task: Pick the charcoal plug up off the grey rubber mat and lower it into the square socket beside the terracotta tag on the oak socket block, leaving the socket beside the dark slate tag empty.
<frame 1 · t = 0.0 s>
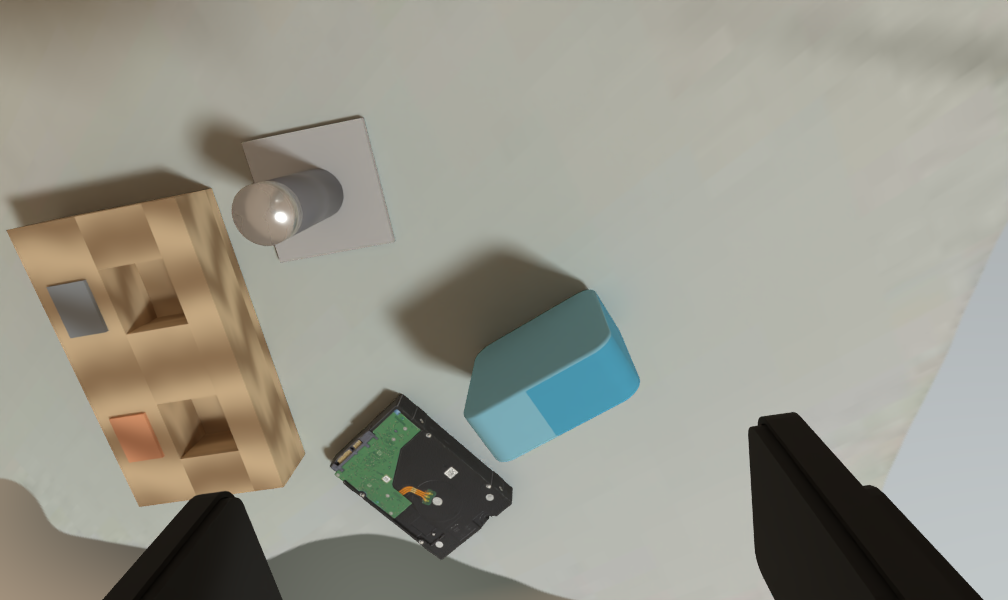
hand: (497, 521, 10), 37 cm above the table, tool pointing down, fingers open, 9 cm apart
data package: (545, 338, 49), on the table
socket block: (190, 344, 50), on the table
disk drive: (425, 468, 54), on the table
rubber mat: (321, 192, 45), on the table
plug: (319, 193, 44), point 1 cm above the table, touching rubber mat
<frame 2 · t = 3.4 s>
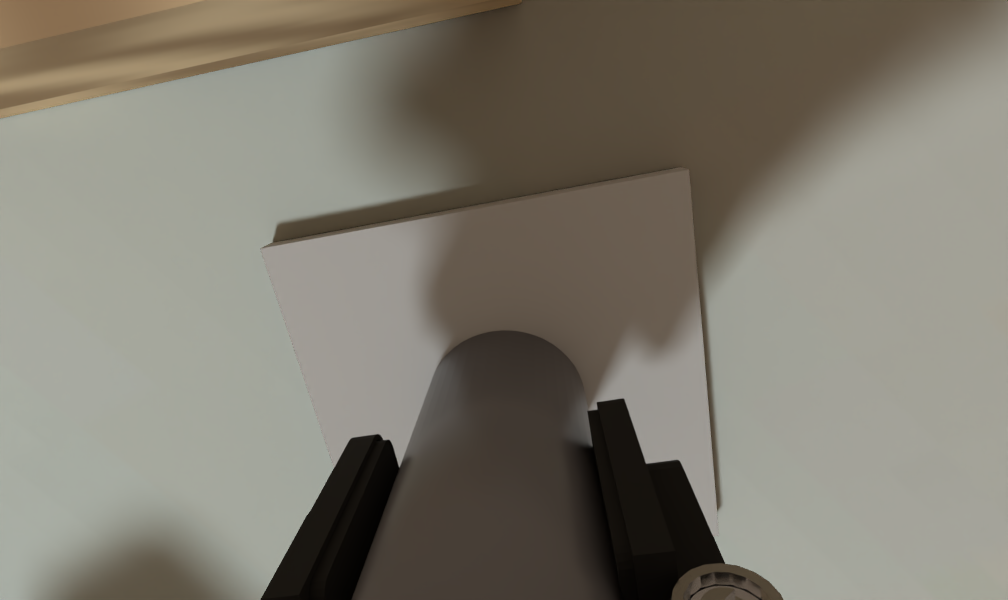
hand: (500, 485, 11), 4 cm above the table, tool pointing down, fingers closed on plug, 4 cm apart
rubber mat: (507, 391, 15), on the table
plug: (506, 402, 14), point 1 cm above the table, touching gripper, rubber mat
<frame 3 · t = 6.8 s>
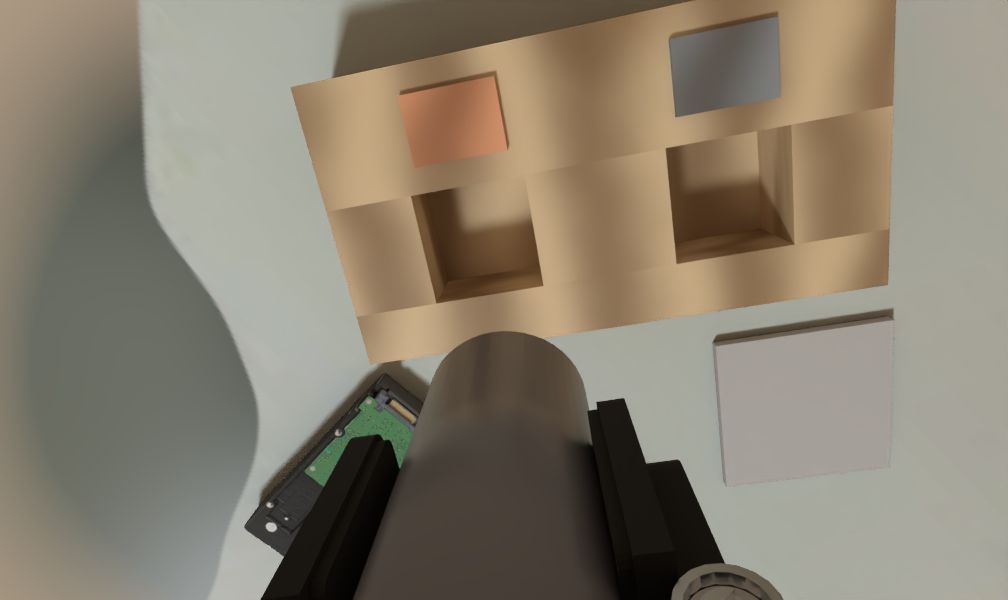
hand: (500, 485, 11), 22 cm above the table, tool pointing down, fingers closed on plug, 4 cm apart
socket block: (587, 177, 30), on the table
disk drive: (378, 481, 38), on the table
rubber mat: (800, 403, 34), on the table
plug: (507, 403, 14), point 19 cm above the table, touching gripper
when the fingers open (6 cm above the table, at t = 10.2 s): plug drops 2 cm, resting on socket block.
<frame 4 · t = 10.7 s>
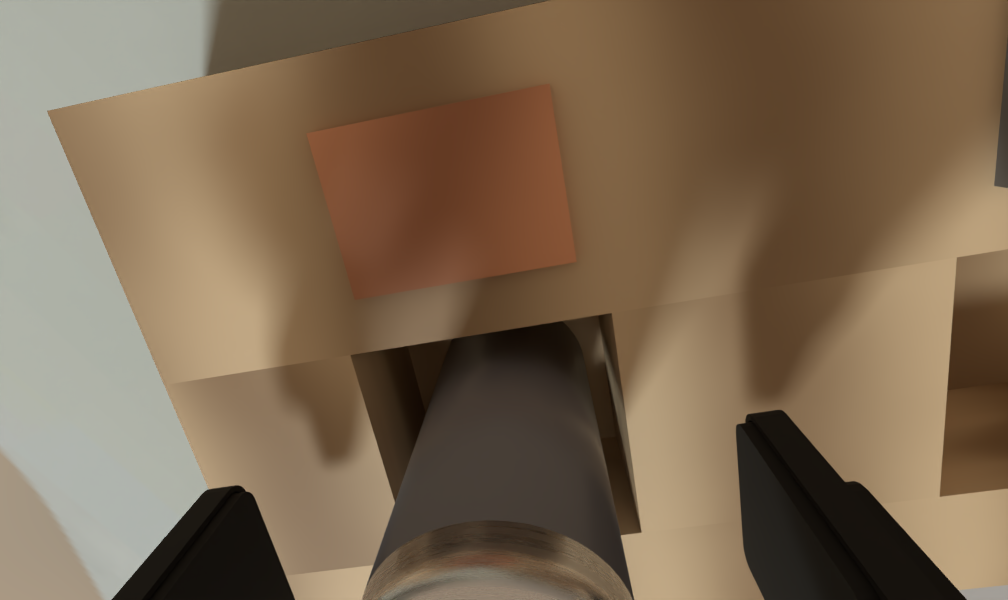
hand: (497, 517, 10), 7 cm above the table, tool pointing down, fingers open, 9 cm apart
socket block: (705, 275, 16), on the table
plug: (514, 368, 16), point 1 cm above the table, touching socket block
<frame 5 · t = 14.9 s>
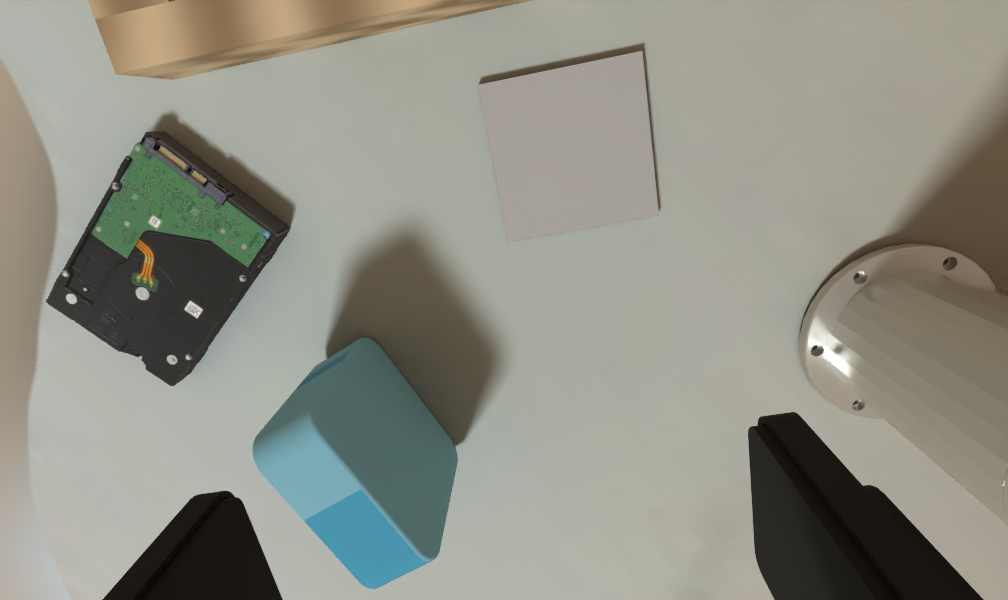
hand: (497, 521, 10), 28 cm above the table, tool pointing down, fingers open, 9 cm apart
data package: (393, 404, 42), on the table
disk drive: (182, 258, 39), on the table
rubber mat: (570, 151, 35), on the table
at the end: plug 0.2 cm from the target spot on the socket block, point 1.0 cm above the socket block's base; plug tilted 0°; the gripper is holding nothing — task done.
